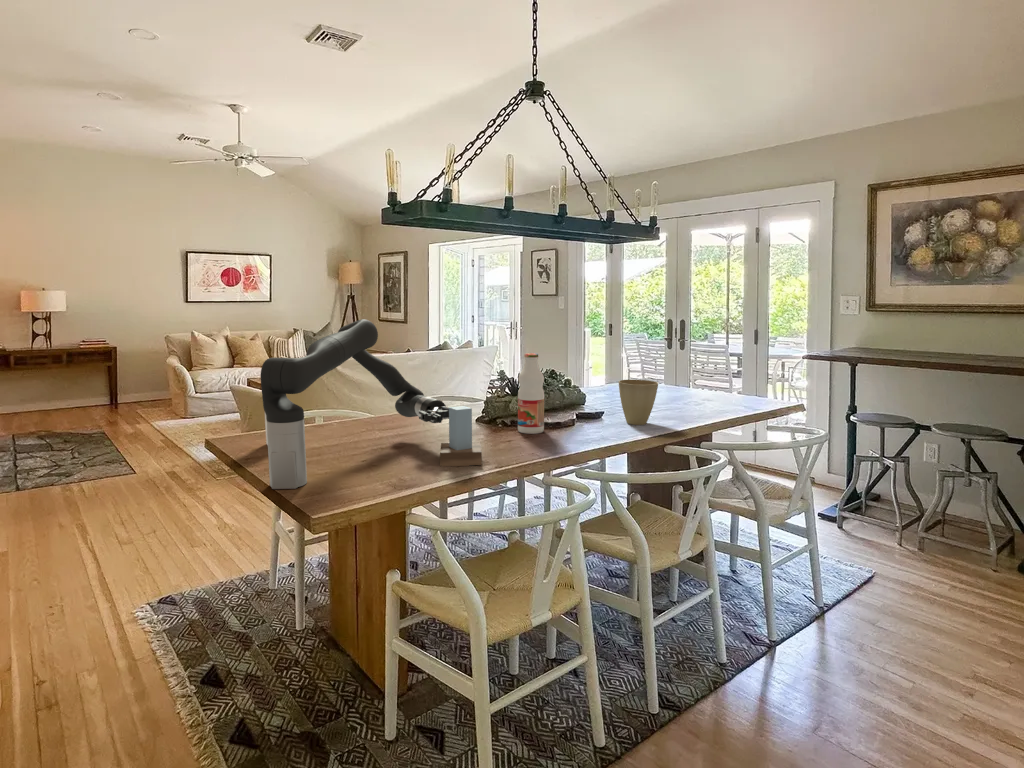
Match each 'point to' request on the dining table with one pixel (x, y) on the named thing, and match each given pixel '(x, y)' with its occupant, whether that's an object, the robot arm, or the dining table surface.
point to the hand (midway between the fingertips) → (453, 418)
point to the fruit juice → (531, 397)
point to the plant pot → (637, 399)
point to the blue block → (460, 427)
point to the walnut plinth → (460, 455)
